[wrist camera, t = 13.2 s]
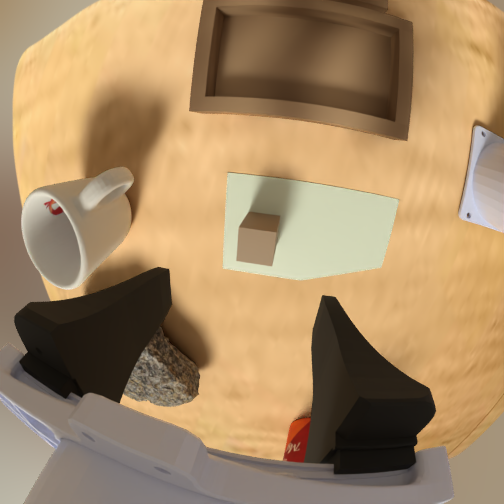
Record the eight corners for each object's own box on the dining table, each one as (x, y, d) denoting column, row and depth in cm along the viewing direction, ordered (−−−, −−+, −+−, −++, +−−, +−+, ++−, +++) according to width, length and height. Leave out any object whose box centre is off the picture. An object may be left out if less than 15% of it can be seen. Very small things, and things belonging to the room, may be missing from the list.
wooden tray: (399, 4, 11) (413, -12, 8) (394, 139, 16) (411, 141, 13) (219, -17, 13) (206, -36, 10) (202, 113, 18) (184, 110, 15)
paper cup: (278, 414, 31) (262, 509, 18) (337, 410, 29) (336, 509, 16) (286, 439, 34) (274, 519, 21) (337, 435, 32) (335, 518, 19)
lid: (397, 197, 18) (417, 213, 15) (372, 287, 22) (383, 316, 18) (229, 171, 20) (213, 180, 16) (224, 265, 23) (210, 291, 20)
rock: (79, 297, 29) (144, 379, 34) (48, 327, 23) (125, 413, 28) (144, 272, 25) (216, 376, 30) (107, 313, 19) (200, 420, 24)
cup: (130, 127, 19) (60, 134, 12) (182, 202, 21) (127, 239, 14) (69, 201, 23) (12, 228, 16) (110, 262, 25) (60, 304, 18)
